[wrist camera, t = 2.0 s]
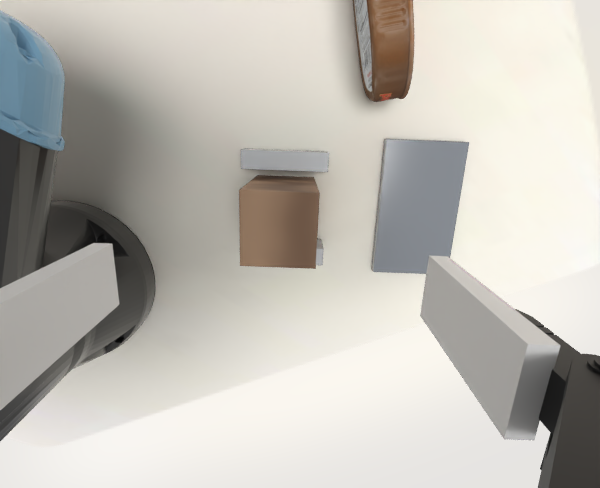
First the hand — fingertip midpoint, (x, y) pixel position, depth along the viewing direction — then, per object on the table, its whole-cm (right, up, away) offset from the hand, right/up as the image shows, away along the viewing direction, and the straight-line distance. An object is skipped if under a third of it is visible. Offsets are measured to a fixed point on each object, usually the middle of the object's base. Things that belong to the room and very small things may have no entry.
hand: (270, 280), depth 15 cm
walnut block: (0, +5, +17) cm, 18 cm away
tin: (+6, +20, +13) cm, 25 cm away
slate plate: (+12, +5, +18) cm, 22 cm away
